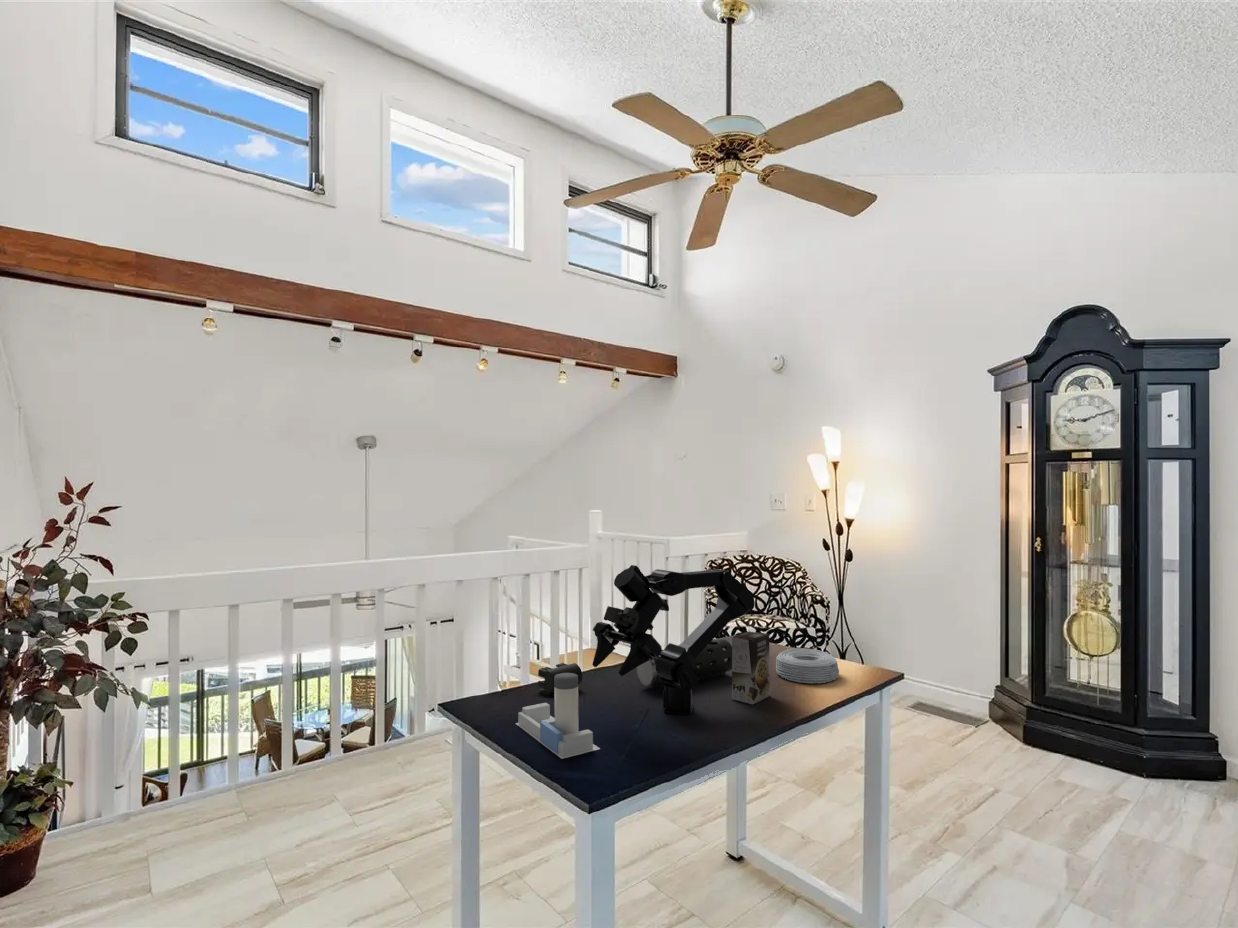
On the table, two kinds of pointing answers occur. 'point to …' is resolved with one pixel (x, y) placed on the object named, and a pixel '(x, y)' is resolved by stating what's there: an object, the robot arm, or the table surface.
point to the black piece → (551, 672)
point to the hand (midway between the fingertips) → (606, 670)
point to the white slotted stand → (554, 732)
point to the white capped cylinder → (566, 702)
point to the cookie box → (750, 667)
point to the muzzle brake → (703, 662)
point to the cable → (807, 666)
